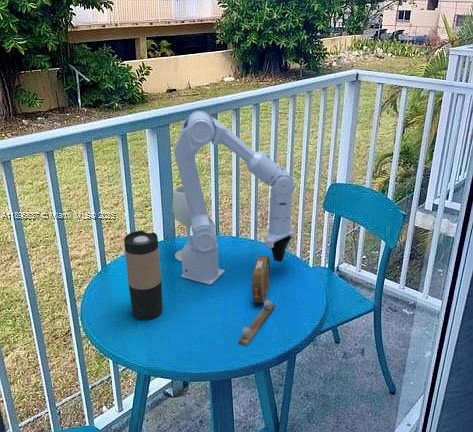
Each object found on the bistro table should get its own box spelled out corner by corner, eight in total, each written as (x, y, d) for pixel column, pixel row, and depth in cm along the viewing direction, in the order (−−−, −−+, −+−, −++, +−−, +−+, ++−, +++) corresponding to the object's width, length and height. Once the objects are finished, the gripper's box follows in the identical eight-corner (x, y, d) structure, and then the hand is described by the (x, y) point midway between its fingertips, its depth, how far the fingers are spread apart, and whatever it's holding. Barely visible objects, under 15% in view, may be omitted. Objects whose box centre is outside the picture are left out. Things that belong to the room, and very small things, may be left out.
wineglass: (172, 262, 138) (168, 194, 129) (177, 248, 146) (173, 183, 137) (202, 262, 137) (199, 194, 129) (205, 249, 145) (203, 183, 137)
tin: (262, 309, 116) (263, 279, 113) (250, 308, 117) (250, 278, 113) (270, 278, 130) (271, 250, 126) (259, 276, 130) (259, 249, 127)
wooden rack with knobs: (238, 343, 104) (238, 333, 103) (267, 305, 117) (267, 296, 116) (246, 345, 103) (247, 336, 102) (274, 307, 116) (275, 298, 115)
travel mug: (136, 324, 110) (128, 247, 103) (127, 307, 117) (119, 234, 109) (168, 315, 114) (162, 240, 106) (157, 299, 120) (151, 227, 112)
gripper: (284, 228, 119) (282, 275, 124) (303, 208, 130) (301, 252, 136) (258, 223, 121) (257, 269, 127) (279, 203, 133) (278, 247, 139)
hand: (278, 260), depth 132 cm, fingers closed
